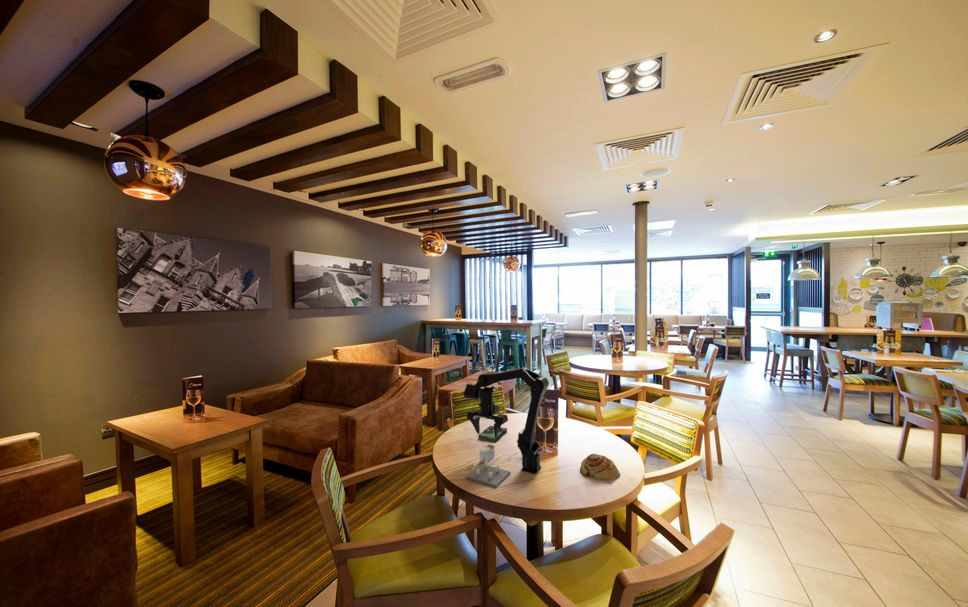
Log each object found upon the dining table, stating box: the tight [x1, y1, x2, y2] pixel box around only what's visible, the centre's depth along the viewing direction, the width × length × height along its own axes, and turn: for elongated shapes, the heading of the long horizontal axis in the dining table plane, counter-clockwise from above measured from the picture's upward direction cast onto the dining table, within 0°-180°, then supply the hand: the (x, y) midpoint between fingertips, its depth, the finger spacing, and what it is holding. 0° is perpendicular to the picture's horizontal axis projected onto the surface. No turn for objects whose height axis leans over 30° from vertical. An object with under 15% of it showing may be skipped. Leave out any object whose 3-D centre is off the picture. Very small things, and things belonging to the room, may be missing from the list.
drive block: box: [479, 443, 496, 464], centre depth 154 cm, size 3×8×5 cm, turn 149°
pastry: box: [579, 453, 621, 481], centre depth 140 cm, size 13×15×8 cm
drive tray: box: [465, 462, 511, 488], centre depth 138 cm, size 14×12×4 cm
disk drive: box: [477, 425, 508, 443], centre depth 181 cm, size 10×3×15 cm
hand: (487, 435), depth 153 cm, fingers open, 9 cm apart
